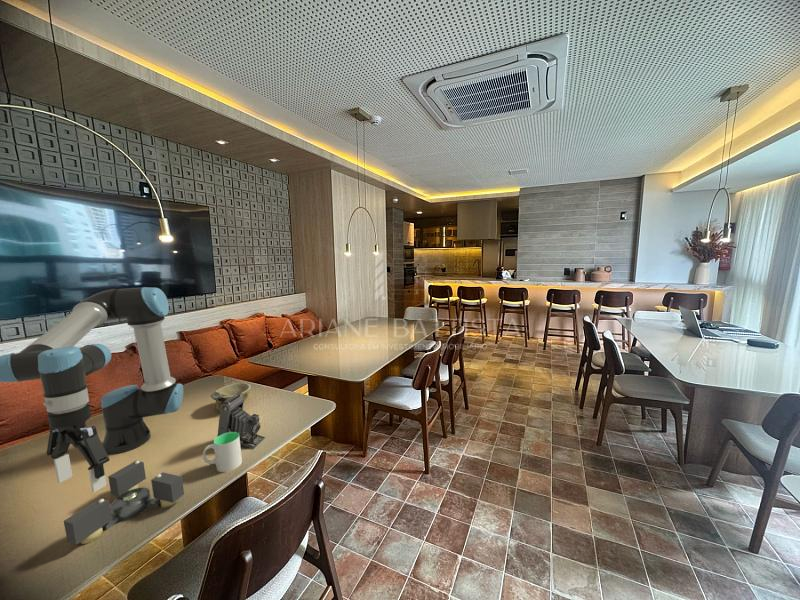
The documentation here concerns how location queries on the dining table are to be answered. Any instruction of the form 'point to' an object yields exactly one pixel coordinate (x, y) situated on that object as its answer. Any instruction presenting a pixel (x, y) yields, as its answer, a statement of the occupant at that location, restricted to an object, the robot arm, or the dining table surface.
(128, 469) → the grey block with dot
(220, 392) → the bowl
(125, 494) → the level base
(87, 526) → the knob
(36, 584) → the dining table surface
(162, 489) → the knob
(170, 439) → the dining table surface
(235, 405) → the camera
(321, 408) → the dining table surface
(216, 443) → the mug
